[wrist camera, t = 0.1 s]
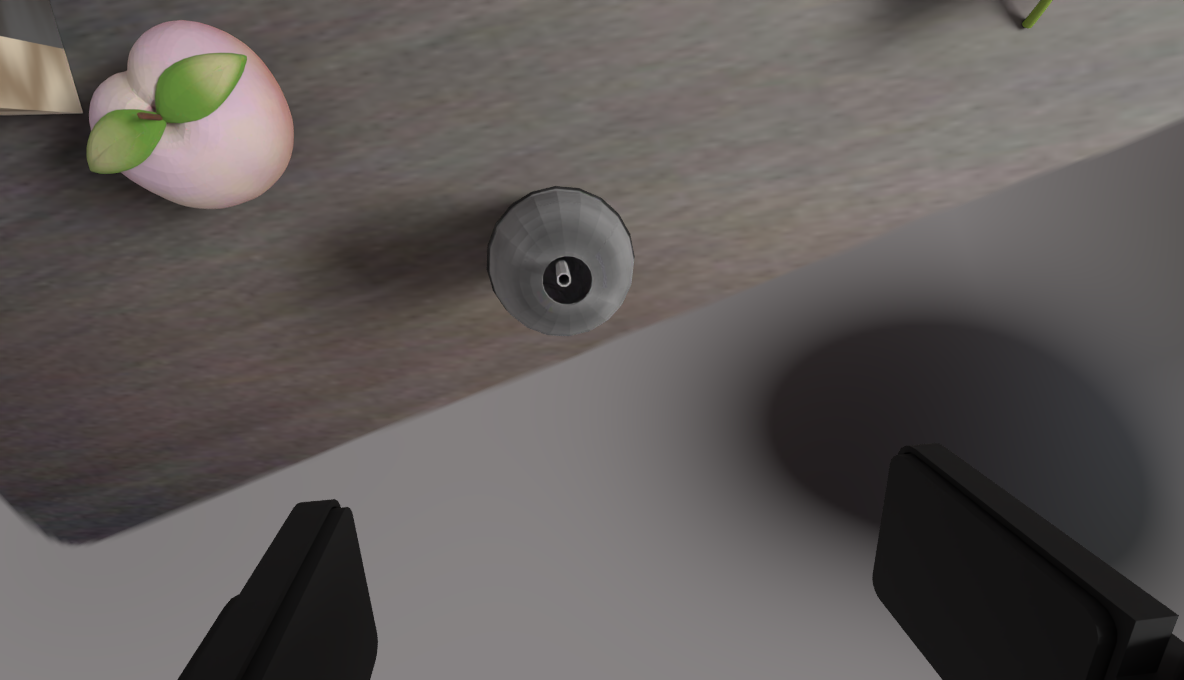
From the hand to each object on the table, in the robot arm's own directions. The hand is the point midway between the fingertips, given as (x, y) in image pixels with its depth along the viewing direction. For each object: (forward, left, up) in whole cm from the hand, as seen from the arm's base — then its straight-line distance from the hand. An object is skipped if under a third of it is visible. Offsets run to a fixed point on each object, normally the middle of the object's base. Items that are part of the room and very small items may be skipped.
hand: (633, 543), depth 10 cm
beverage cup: (-1, 0, -31) cm, 31 cm away
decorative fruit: (-8, -18, -31) cm, 37 cm away
